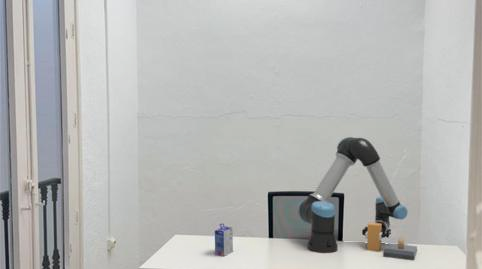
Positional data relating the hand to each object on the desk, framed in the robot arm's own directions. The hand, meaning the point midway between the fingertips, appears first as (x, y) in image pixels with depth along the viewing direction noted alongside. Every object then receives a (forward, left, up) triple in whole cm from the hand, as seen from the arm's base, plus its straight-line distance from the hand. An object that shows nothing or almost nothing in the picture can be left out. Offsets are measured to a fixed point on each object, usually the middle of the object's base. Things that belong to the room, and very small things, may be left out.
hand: (372, 236), depth 232 cm
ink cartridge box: (-65, -38, -8) cm, 76 cm away
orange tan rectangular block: (0, +5, -8) cm, 9 cm away
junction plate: (+13, +3, -8) cm, 15 cm away
